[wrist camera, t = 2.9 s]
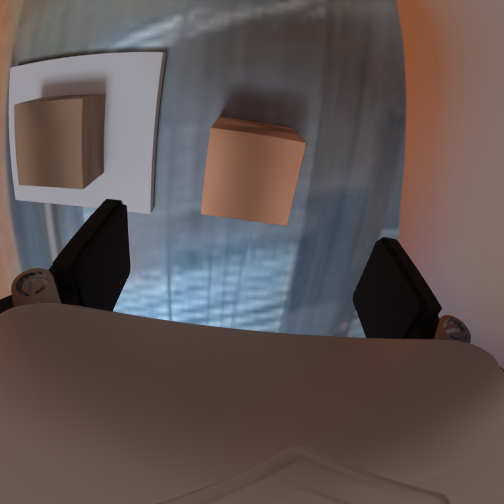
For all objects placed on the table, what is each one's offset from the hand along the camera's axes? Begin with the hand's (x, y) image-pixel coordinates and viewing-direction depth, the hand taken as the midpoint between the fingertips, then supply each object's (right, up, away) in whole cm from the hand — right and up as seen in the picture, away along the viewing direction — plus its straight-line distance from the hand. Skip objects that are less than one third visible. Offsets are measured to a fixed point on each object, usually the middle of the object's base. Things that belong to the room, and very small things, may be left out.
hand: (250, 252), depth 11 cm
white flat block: (-16, +11, +11) cm, 22 cm away
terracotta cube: (0, +8, +14) cm, 16 cm away
